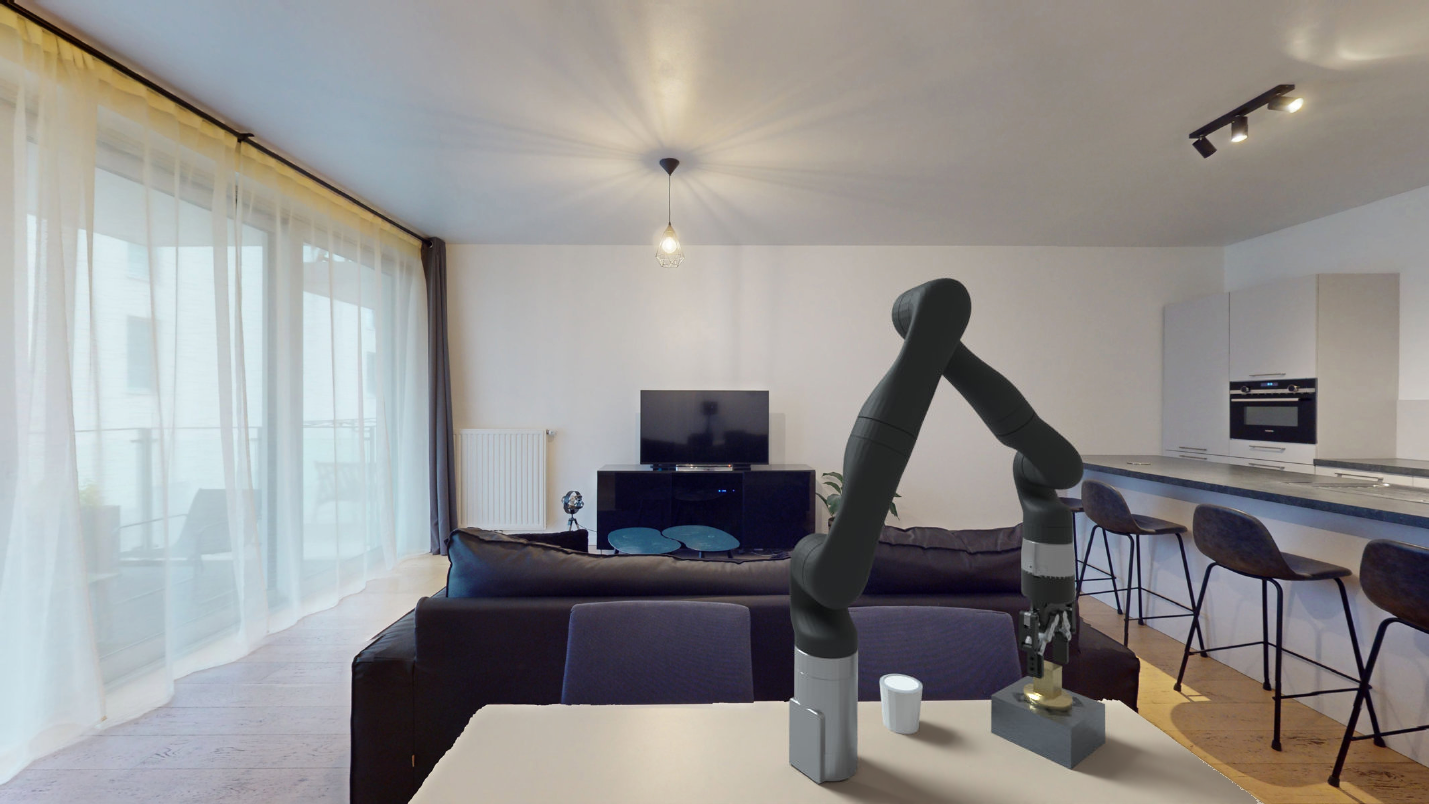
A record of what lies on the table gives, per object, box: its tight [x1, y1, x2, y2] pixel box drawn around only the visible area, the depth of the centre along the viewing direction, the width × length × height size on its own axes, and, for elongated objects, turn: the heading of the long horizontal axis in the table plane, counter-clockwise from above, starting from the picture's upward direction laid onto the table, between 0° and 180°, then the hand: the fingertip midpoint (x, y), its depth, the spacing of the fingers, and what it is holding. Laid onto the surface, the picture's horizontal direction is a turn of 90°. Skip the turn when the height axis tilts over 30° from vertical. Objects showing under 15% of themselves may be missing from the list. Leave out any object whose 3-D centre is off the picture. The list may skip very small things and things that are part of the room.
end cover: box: [1024, 659, 1072, 711], centre depth 94 cm, size 7×7×9 cm
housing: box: [990, 675, 1106, 770], centre depth 94 cm, size 12×12×6 cm
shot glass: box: [879, 673, 923, 735], centre depth 98 cm, size 7×7×7 cm
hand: (1048, 669), depth 94 cm, fingers open, 8 cm apart
